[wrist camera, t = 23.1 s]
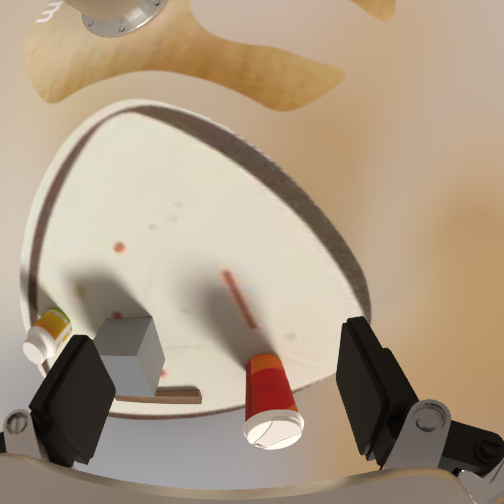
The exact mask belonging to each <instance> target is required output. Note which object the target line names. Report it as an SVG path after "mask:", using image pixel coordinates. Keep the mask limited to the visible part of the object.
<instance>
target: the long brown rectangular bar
mask: <svg viewBox="0 0 504 504" xmlns="http://www.w3.org/2000/svg"><path fill="white" fill-rule="evenodd" d="M115 399H116V401H127V402H141V403H161V404H201V403H202V396H201V393H200V390H187V391H156V393H155V397H137V396H122V395H115Z"/></svg>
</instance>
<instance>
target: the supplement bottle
mask: <svg viewBox="0 0 504 504" xmlns="http://www.w3.org/2000/svg"><path fill="white" fill-rule="evenodd" d="M71 330H72V326H71V322H70V320H69V318H68V317H67V316H66V314H65V313H64V312H62V311H61V310H59V309H57V308H50V309H48V310H47V311H46V312H45V313H44V314H43V315H42V317H41V318H40V319H39V320H38V321H37V322H36V323H35V324H34V325H33V326H32V327H31V328H30V330H29V331H28V334H27V338H28V339H26V341H25V342H24V343H23V346H22V347H23V351H24V353H25V355H26V356H27V358H28V359H29V360H31V361H32V362H33V363H35V364H42V363H43V362H44V360H45V359H46V358H50V357H52V356H53V355H54V354H55V353H56V352H57V350H58V349H59V348H60V346H61V345H62V343H63V342H64V341H65V339H66V338H67V337H68V335H69V334H70V333H71Z"/></svg>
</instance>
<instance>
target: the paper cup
mask: <svg viewBox="0 0 504 504" xmlns="http://www.w3.org/2000/svg"><path fill="white" fill-rule="evenodd" d="M245 414H246V415H245V424H244V426H243V433H244V435H245V437H246V438H247V440H248V441H249V443H251V444H254V445H255V446H257V447H260V448H263V449H279V448H283V447H287V446H289V445H291V444H293V443H294V442H296V441H297V440H298V439H299V438H300V436H301V434H302V429H303V427H304V420H303V418H302V417H301V415H300V414H299V413H298V410H297V407H296V404H295V401H294V398H293V394H292V391H291V388H290V385H289V382H288V379H287V376H286V373H285V370H284V367H283V365H282V362H281V360H280V359H279V358H278V357H277V356H275V355H272V354H260V355H257V356H255V357H253V358H252V359H251V360H250V361H249V362H248V364H247V368H246V412H245Z"/></svg>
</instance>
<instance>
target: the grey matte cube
mask: <svg viewBox="0 0 504 504" xmlns="http://www.w3.org/2000/svg"><path fill="white" fill-rule="evenodd" d="M93 342H94V344H95V347H96V349H97V351H98V353H99V355H100V357H101V359H102V361H103V363H104V366H105V368H106V370H107V372H108V374H109V375H110V377H111V379H112V381H113V383H114V385H115V388H116V394H115V395H122V396H137V397H155V393H156V390H157V386H158V382H159V379H160V375H161V371H162V368H163V364H164V361H165V357H164V354H163V351H162V348H161V344H160V341H159V338H158V334H157V331H156V328H155V324H154V321H153V317H142V318H123V319H106V320H105V322H104V323H103V325H102V327H101V328H100V330H99V332H98V333H97V335H96V337H95V338H94V340H93Z"/></svg>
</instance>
